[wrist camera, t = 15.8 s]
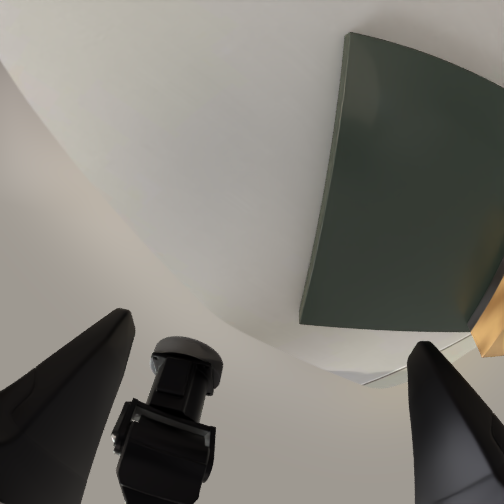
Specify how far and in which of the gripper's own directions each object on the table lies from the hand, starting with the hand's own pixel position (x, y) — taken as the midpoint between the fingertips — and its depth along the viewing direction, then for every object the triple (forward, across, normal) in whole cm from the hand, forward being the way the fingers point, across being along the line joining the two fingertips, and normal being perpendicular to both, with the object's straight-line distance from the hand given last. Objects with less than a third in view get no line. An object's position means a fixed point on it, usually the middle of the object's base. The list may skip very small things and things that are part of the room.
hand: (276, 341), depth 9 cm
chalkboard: (+12, -12, 0) cm, 17 cm away
